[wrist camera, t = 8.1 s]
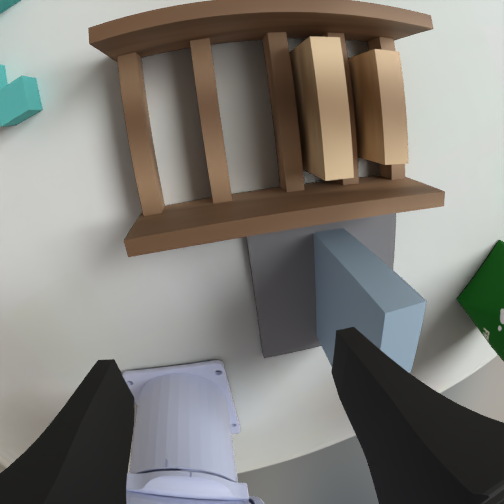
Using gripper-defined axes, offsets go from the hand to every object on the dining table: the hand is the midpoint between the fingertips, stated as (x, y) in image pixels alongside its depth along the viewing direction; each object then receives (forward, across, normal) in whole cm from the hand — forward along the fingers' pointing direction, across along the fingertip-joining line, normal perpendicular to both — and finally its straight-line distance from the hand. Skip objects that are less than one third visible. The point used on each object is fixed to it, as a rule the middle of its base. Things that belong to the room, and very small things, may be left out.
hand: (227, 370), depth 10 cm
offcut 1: (+11, -6, -7) cm, 15 cm away
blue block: (+10, -7, +4) cm, 13 cm away
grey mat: (+10, -7, +4) cm, 13 cm away
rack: (+11, -4, -7) cm, 13 cm away
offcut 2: (+11, -9, -7) cm, 16 cm away
